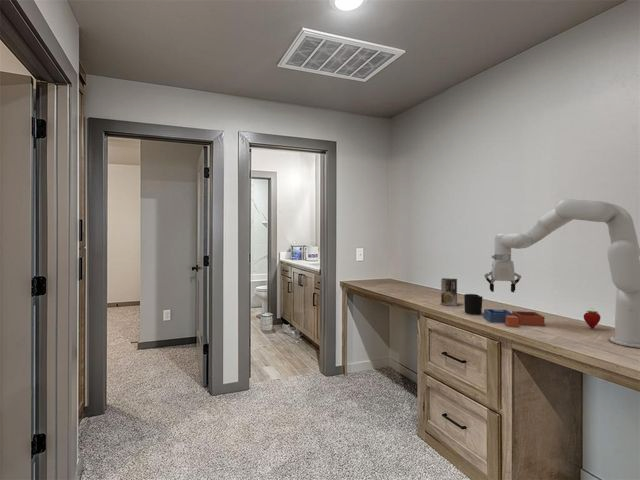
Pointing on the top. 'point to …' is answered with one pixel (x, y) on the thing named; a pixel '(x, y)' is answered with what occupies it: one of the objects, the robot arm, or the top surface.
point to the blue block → (499, 311)
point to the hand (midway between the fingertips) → (502, 291)
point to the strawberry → (592, 318)
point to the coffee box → (449, 291)
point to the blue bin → (496, 315)
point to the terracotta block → (511, 321)
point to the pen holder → (473, 304)
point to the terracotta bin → (529, 318)
